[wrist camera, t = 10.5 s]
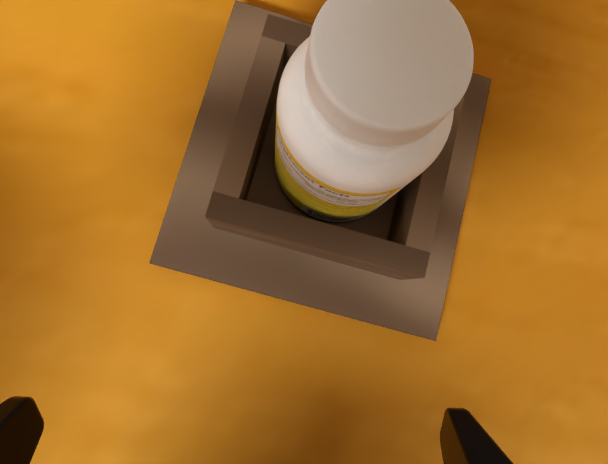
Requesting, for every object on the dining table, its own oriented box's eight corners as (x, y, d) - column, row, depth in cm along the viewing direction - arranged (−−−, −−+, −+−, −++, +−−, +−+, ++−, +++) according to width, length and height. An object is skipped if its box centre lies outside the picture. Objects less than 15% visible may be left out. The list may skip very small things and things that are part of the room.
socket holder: (429, 339, 20) (467, 350, 16) (153, 264, 19) (127, 257, 15) (483, 86, 22) (528, 44, 18) (236, 11, 21) (230, -50, 17)
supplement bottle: (346, 91, 20) (421, -91, 11) (412, 185, 20) (551, 86, 10) (249, 150, 19) (235, 11, 10) (316, 249, 19) (369, 207, 9)
